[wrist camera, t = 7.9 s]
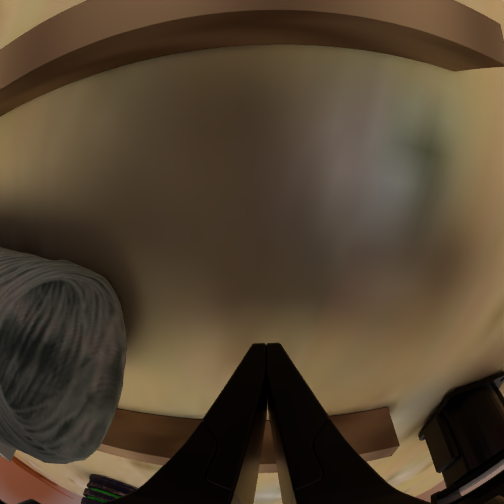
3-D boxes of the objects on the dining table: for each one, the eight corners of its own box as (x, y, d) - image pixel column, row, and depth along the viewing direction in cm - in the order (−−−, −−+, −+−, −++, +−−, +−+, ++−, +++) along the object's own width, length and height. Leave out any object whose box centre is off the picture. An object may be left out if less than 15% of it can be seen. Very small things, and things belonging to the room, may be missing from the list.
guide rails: (450, 37, 6) (500, 24, 3) (381, 419, 15) (391, 455, 12) (-59, 133, 7) (-93, 144, 5) (38, 396, 16) (24, 422, 13)
